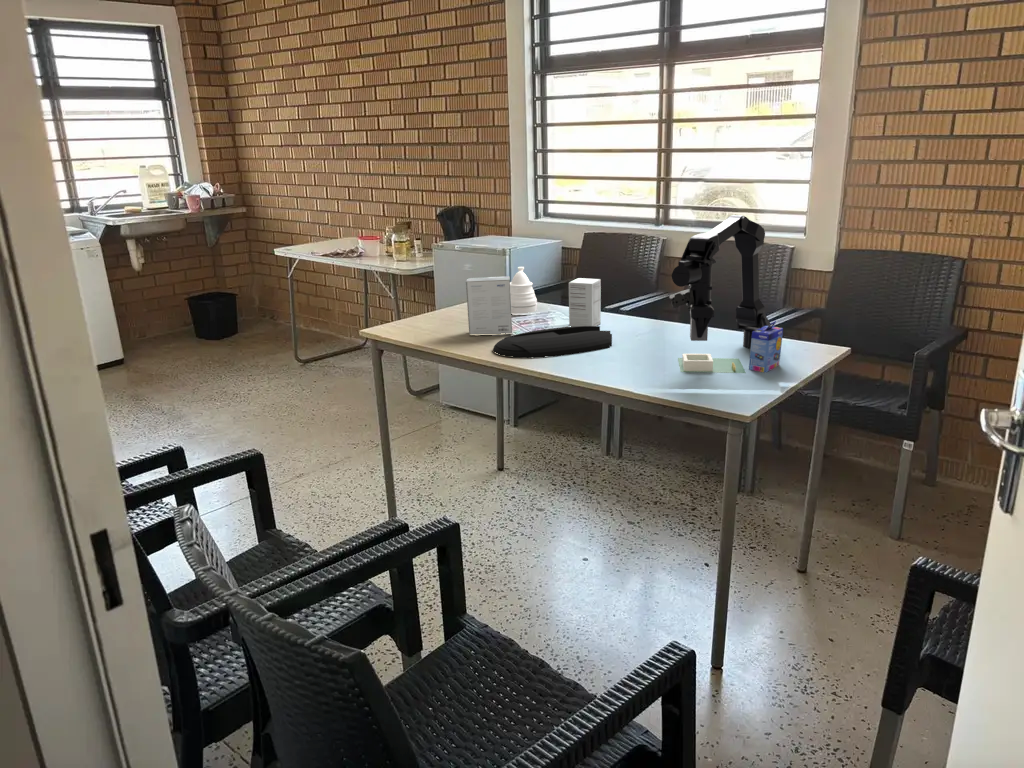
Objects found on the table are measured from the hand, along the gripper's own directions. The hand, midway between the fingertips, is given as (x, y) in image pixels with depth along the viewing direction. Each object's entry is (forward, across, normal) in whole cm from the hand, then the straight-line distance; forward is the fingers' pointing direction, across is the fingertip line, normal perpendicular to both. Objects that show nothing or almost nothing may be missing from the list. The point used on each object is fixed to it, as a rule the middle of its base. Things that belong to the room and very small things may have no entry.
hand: (698, 335), depth 216 cm
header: (+10, 0, 0) cm, 10 cm away
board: (+10, -2, +4) cm, 11 cm away
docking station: (+11, -27, -45) cm, 54 cm away
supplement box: (+11, -57, -36) cm, 68 cm away
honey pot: (+11, -80, -63) cm, 102 cm away
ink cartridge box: (+11, -1, +19) cm, 22 cm away
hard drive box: (+11, -44, -69) cm, 83 cm away
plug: (+1, 0, 0) cm, 1 cm away
